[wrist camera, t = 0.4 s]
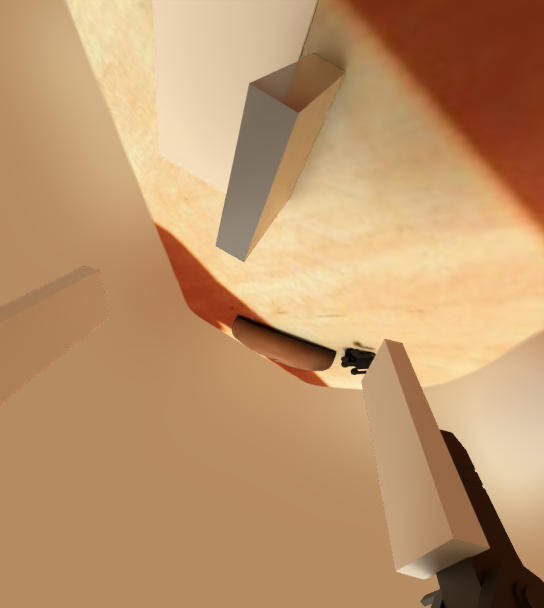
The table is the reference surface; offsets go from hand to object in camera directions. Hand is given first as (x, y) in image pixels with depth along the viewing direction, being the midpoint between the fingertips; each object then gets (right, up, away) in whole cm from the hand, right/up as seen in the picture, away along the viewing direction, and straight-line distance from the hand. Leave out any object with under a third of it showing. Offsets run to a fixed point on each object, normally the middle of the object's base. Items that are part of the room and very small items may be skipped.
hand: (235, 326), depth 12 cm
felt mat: (-3, +18, +8) cm, 20 cm away
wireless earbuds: (+15, -7, +28) cm, 32 cm away
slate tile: (+4, +14, +9) cm, 17 cm away
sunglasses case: (+4, -6, +34) cm, 35 cm away
